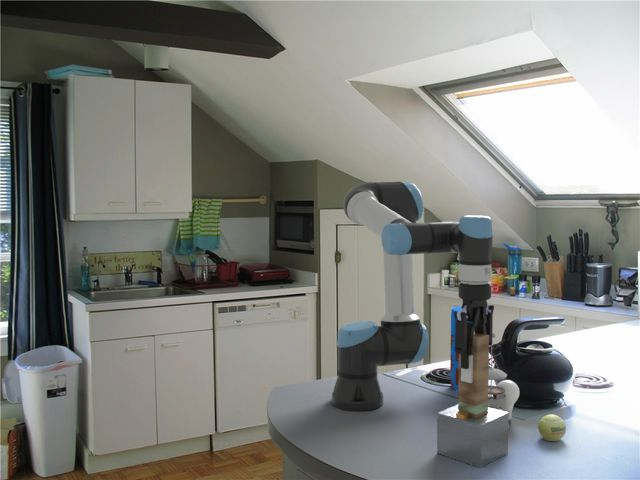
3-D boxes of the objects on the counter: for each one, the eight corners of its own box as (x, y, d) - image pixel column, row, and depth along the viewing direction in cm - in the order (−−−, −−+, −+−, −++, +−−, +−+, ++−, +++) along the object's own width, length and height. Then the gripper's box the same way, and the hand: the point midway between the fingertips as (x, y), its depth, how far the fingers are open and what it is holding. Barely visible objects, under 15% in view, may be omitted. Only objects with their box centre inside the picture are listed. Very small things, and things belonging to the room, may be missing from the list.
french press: (503, 434, 180) (504, 338, 178) (460, 426, 186) (460, 333, 184) (514, 422, 188) (515, 330, 186) (472, 415, 194) (473, 326, 192)
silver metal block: (437, 453, 167) (437, 408, 166) (465, 440, 176) (465, 397, 175) (480, 468, 159) (481, 420, 158) (507, 453, 167) (508, 408, 166)
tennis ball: (547, 418, 172) (570, 415, 174) (531, 413, 179) (554, 410, 181) (549, 444, 172) (572, 441, 174) (533, 438, 178) (556, 435, 180)
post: (458, 426, 167) (459, 335, 165) (469, 420, 170) (470, 331, 168) (476, 431, 163) (477, 338, 161) (487, 425, 167) (489, 335, 165)
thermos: (483, 383, 224) (484, 306, 222) (487, 393, 214) (489, 312, 211) (448, 382, 225) (449, 305, 223) (451, 392, 215) (452, 312, 213)
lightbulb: (518, 417, 192) (519, 378, 191) (518, 425, 186) (519, 384, 185) (494, 415, 194) (496, 376, 193) (493, 422, 188) (495, 382, 187)
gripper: (467, 288, 155) (465, 390, 157) (509, 279, 167) (507, 374, 170) (439, 284, 160) (438, 383, 162) (482, 276, 173) (480, 368, 175)
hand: (473, 378), depth 166 cm, fingers closed on post, 5 cm apart
